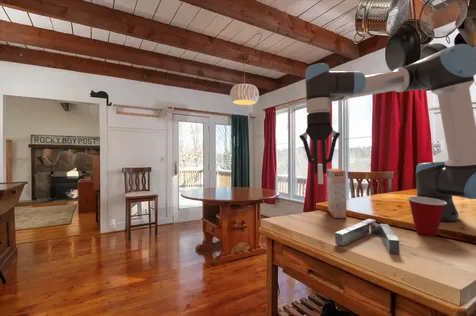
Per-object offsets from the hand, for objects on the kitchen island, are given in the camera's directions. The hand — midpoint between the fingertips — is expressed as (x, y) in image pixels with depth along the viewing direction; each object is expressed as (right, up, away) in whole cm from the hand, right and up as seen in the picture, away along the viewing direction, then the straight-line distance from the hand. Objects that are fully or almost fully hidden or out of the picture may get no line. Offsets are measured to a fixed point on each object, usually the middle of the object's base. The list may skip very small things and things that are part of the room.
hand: (320, 183), depth 82 cm
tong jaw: (+13, -18, +2) cm, 23 cm away
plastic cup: (+38, -18, +3) cm, 42 cm away
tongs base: (+19, -19, -2) cm, 27 cm away
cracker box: (+18, -18, +31) cm, 40 cm away
